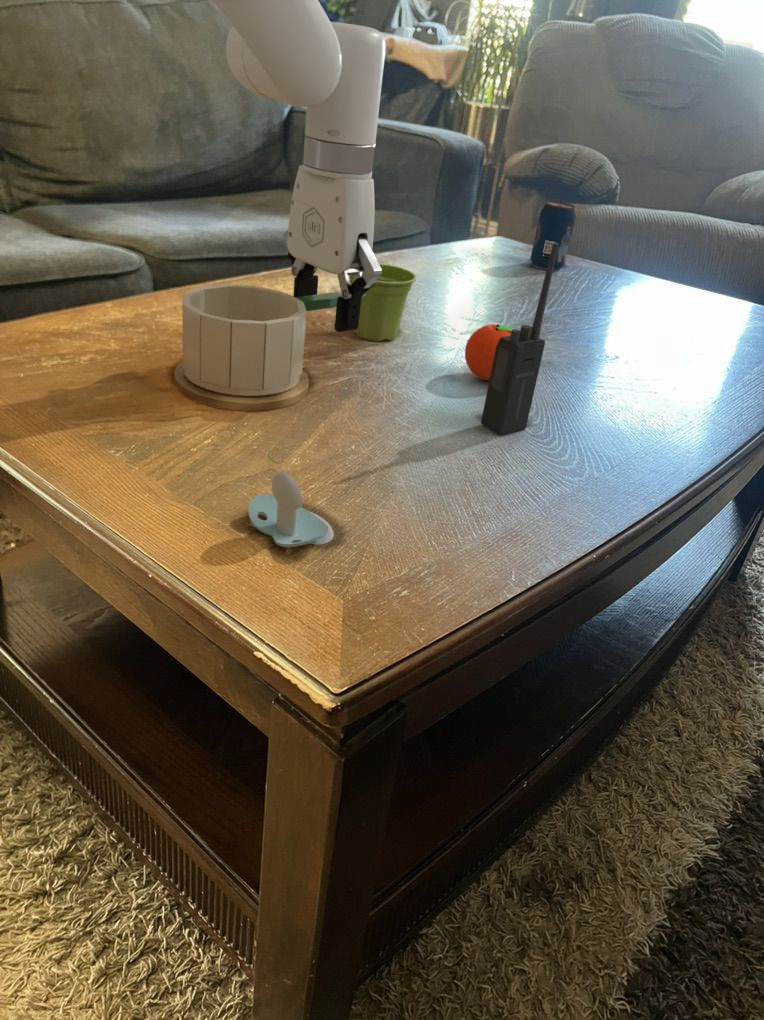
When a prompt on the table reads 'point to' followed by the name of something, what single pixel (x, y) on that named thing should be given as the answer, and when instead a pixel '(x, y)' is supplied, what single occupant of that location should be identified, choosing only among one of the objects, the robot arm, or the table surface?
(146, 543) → the table surface
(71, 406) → the table surface
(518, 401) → the walkie-talkie
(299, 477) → the table surface
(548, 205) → the soda can
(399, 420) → the table surface
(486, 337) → the clementine
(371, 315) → the plant pot
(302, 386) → the disc
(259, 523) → the pacifier
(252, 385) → the pot
